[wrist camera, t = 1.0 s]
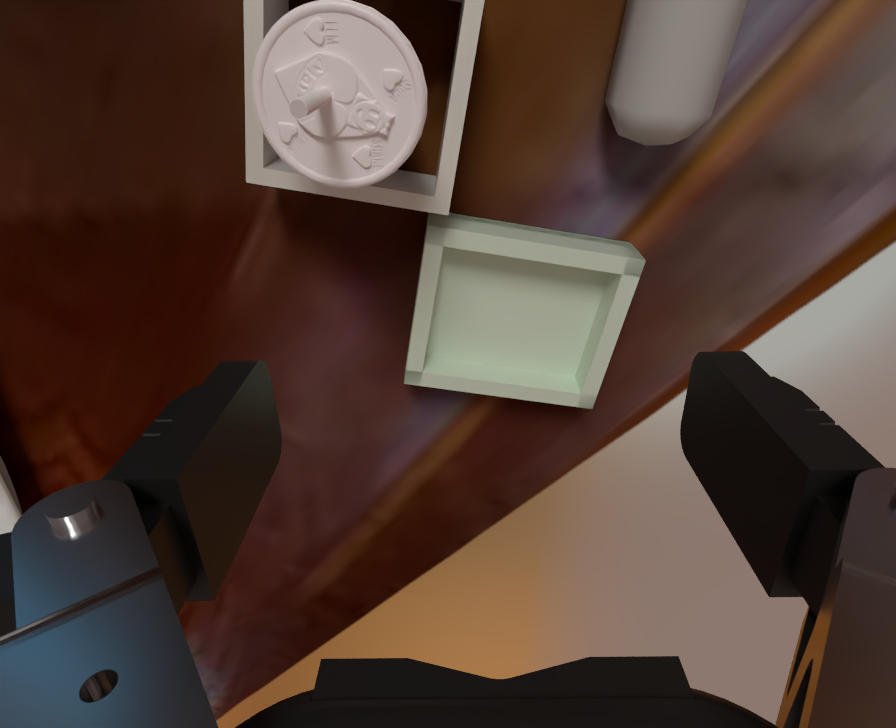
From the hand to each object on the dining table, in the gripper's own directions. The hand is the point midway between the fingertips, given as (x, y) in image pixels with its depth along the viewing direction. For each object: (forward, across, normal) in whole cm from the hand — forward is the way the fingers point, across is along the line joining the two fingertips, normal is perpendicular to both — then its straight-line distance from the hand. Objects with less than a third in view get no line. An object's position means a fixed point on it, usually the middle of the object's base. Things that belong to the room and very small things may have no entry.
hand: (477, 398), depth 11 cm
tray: (+24, -3, +7) cm, 25 cm away
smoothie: (+23, +5, -5) cm, 24 cm away
